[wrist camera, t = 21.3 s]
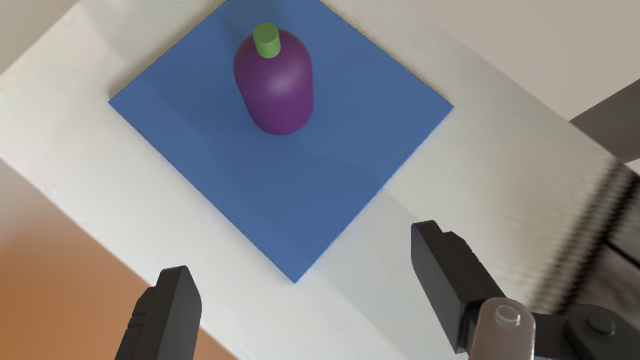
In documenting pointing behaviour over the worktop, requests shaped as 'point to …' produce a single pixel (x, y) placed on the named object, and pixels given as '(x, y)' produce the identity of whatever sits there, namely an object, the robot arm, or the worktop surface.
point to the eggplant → (275, 79)
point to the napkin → (292, 149)
